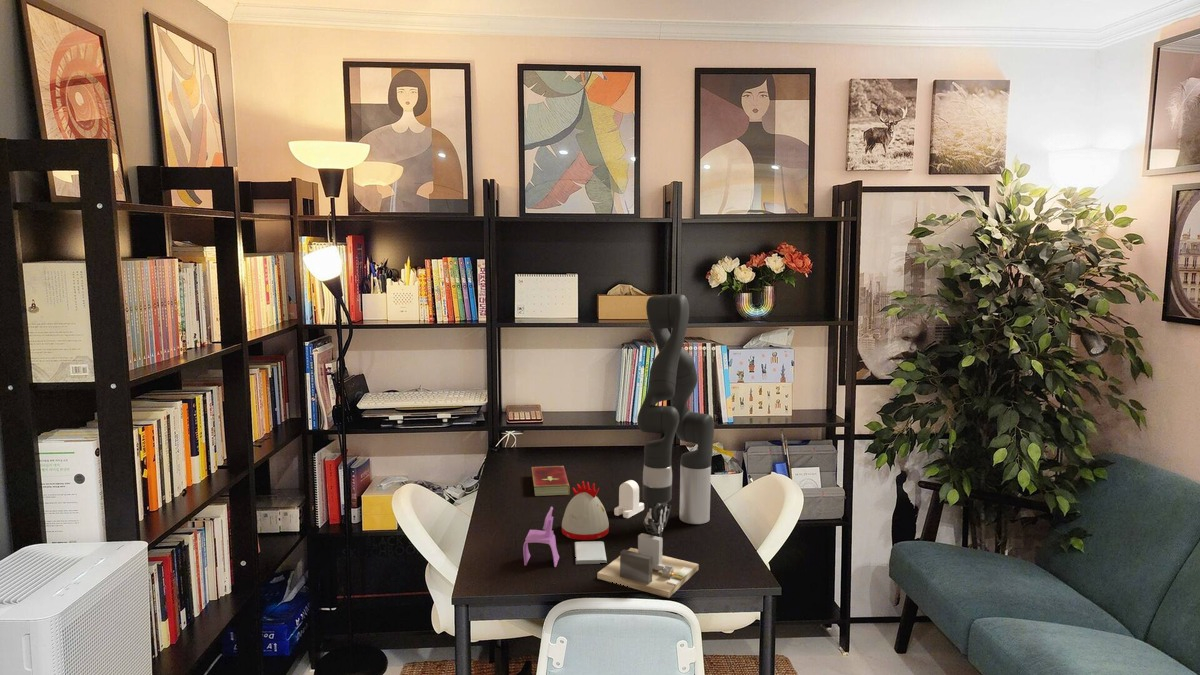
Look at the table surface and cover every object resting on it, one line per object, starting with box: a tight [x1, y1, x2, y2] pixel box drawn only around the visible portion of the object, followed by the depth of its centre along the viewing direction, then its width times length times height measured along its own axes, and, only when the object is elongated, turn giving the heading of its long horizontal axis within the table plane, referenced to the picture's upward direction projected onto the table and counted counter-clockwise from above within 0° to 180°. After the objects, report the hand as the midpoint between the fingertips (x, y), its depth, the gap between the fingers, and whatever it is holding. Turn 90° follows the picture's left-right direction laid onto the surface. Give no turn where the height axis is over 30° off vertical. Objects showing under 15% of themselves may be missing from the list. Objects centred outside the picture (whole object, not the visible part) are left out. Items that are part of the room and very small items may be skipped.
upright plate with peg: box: [637, 532, 674, 572], centre depth 191 cm, size 7×10×8 cm
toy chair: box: [522, 506, 560, 568], centre depth 200 cm, size 8×9×15 cm
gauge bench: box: [597, 547, 700, 599], centre depth 194 cm, size 18×20×8 cm
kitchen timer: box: [561, 480, 610, 541], centre depth 221 cm, size 14×14×15 cm
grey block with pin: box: [662, 566, 683, 578], centre depth 188 cm, size 2×5×2 cm, turn 60°
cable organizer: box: [613, 479, 645, 519], centre depth 237 cm, size 5×10×10 cm, turn 145°
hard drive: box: [574, 540, 608, 565], centre depth 206 cm, size 2×8×12 cm
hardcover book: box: [530, 465, 571, 497], centre depth 262 cm, size 12×21×4 cm, turn 8°
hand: (656, 545), depth 197 cm, fingers closed
